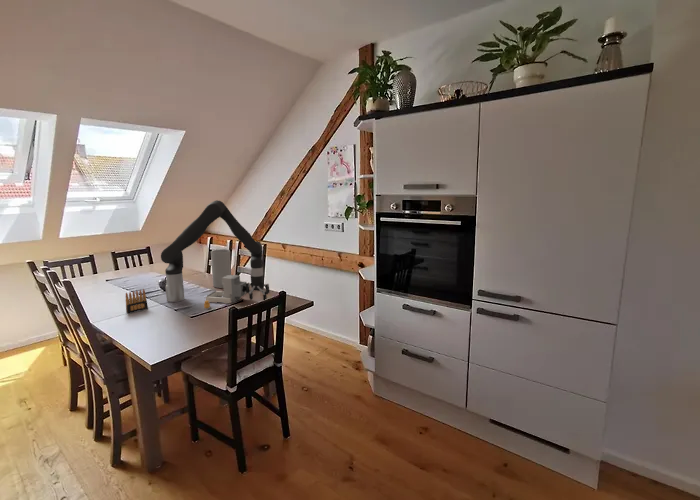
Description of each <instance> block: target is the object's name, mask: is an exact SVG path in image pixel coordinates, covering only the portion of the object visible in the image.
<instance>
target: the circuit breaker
mask: <svg viewBox="0 0 700 500" xmlns="http://www.w3.org/2000/svg"><path fill="white" fill-rule="evenodd" d="M247 283H248V282H247V281H241V275H236V274H235V275H234V274H231V275H227V276H225V277H223V278H222V285H223V288H222V290H223V292H224V294H222V295H223V297H222V298H231V303H237V302H238V301H240V300H241V299H242V297H243V296H245V295H246V294H248V293H246V284H247Z"/></svg>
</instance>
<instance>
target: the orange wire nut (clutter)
mask: <svg viewBox="0 0 700 500" xmlns="http://www.w3.org/2000/svg"><path fill="white" fill-rule="evenodd" d="M203 307H204V309H210V308H211V302H209V301H208V300H207V301H206V300H204V303H203ZM209 307H210V308H209Z"/></svg>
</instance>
